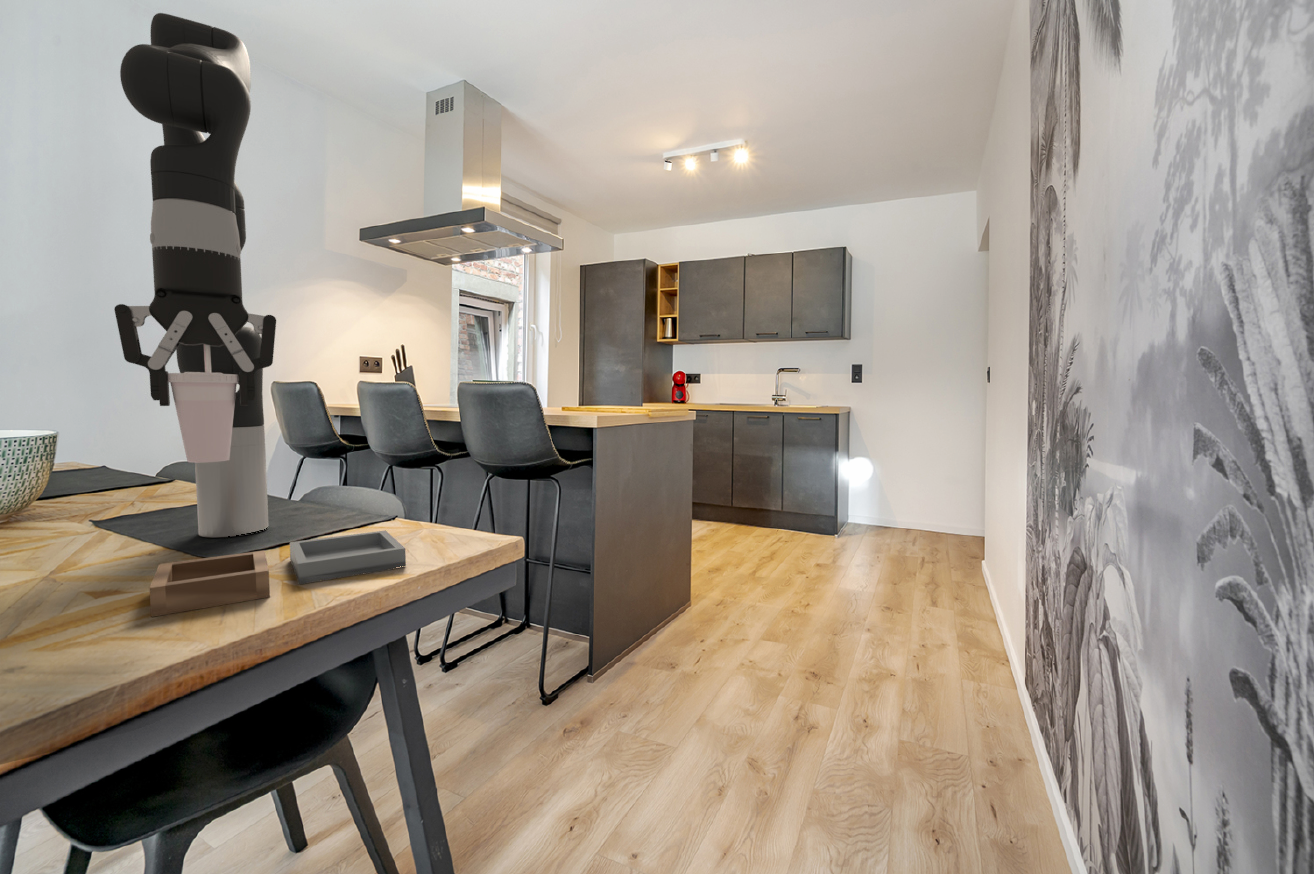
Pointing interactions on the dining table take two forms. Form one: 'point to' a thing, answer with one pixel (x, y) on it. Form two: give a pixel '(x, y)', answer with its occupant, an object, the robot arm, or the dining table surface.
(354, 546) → the tray
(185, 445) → the smoothie
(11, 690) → the dining table surface
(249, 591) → the holder
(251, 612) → the dining table surface
